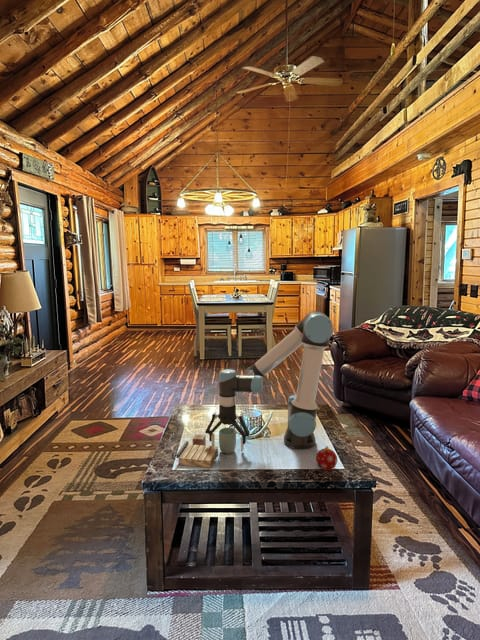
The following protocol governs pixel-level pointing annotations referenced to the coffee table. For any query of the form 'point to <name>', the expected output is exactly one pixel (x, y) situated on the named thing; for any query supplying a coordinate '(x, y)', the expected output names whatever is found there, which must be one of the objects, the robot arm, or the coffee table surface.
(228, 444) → the cup
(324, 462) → the christmas ornament
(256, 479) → the coffee table surface
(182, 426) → the coffee table surface
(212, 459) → the pallet dock
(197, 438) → the crate
